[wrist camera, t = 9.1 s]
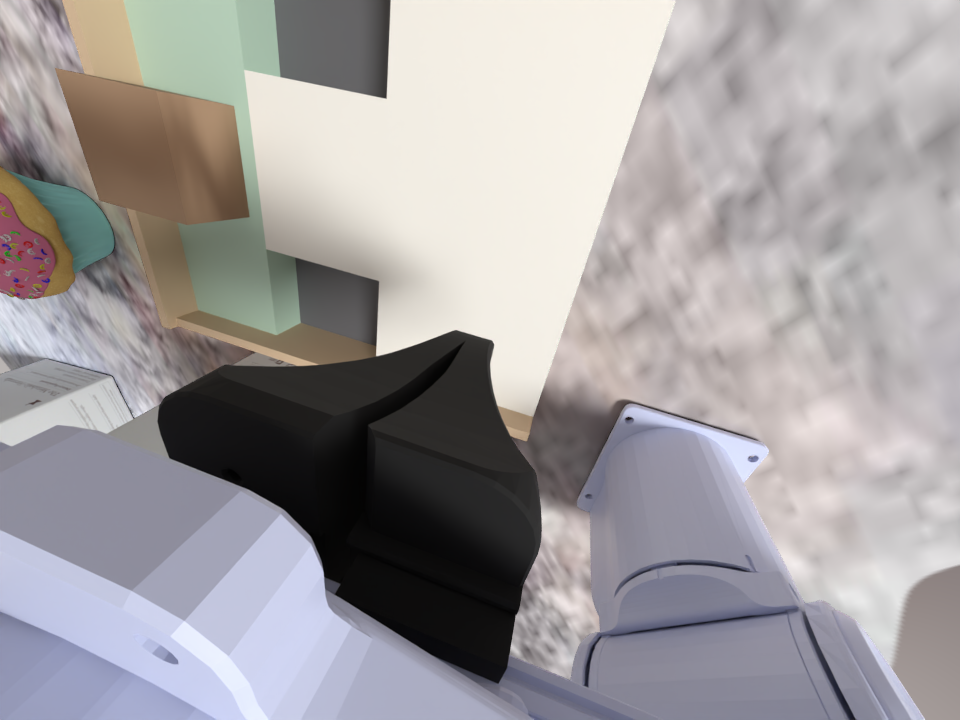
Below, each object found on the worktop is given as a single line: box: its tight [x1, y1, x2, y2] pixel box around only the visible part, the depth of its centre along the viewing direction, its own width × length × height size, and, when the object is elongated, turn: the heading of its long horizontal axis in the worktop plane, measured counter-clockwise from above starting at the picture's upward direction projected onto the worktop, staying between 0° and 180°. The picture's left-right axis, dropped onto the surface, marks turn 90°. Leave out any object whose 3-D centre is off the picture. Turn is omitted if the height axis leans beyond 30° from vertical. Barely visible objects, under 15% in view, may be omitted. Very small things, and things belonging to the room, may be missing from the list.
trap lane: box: [62, 0, 676, 442], centre depth 17 cm, size 20×24×4 cm
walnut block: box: [55, 68, 250, 225], centre depth 17 cm, size 5×5×4 cm
